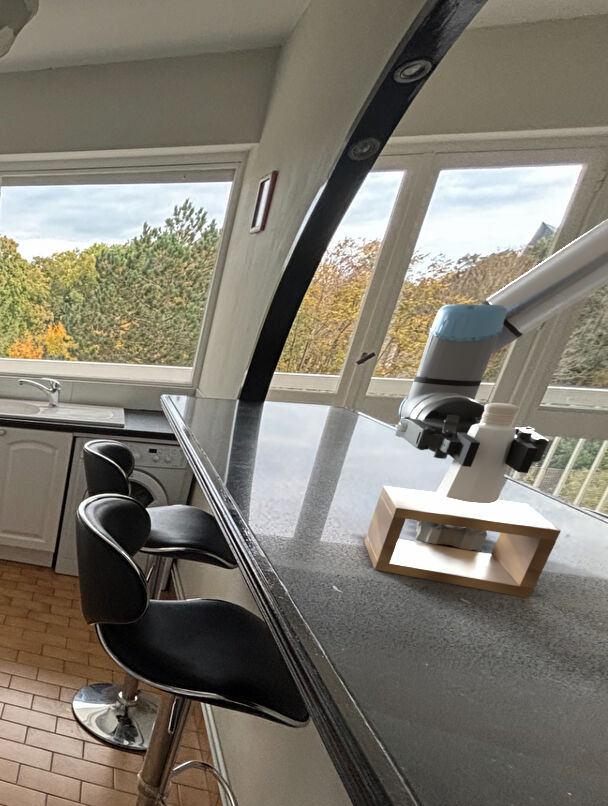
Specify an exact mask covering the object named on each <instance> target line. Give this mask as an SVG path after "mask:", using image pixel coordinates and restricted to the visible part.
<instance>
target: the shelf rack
mask: <svg viewBox="0 0 608 806" xmlns="http://www.w3.org/2000/svg"><path fill="white" fill-rule="evenodd" d="M380 491H381V492H380V495H379V497H378V499H377V503H376V506H375V509H374V512H373V515H372V519H371V521H370V523H369V527H368V530H367V533H366V535H365V538H364V545H365V548H366V550H367V554H368V555H369V558H370V561H371V564H372V567H373V569H374V570H375V571H378V572H384V573H389V574H395V575H399V576H400V575H401V576H407V577H411V578H417V579H422V580H428V581H432V582H433V581H434V582H440V583H443V584H450V585H455V586H460V587H466V588H471V589H472V588H473V589H478V590H483V591H488V592H494V593H500V594H504V595H510V596H516V597H521V598H526V599H530V598H531V596H532V594H533V591H534V589H535V587H536V585H537V583H538V581H539V579H540V576H541V574H542V573H543V570H544V568H545V566H546V564H547V561H548V560H549V557H550V555H551V553H552V552H553V549H554V547H555V544H556V542H557V540H558V538H559V536H560V533H561V531H562V530H561V529H559V528H558V527H557V526H555V525H554V524H553V523H551V522H550V521H549V520H548V519H547V518H545V517H544V516H543V515H541V514H540V513H539V512H538V511H537V510H535V509H534V508H533V507H531V506H530V505H529V504H528V503H523V502H515V501H507V500H500V499H498V500H497V501H496V502H493V503H490V504H483V503H470V502H464V501H460V500H455V499H451V498H446V497H444V496H443V495H441V494H439V493H437V491H428V490H422V489H421V490H420V489H414V488H412V489H411V488H404V487H395V486H388V485H382V489H381V490H380ZM406 520H411V521H417V520H418V521H424V522H431V523H438V524H445V525H452V526H459V527H466V528H472V529H479V530H486V532H493V533H499V536H498V538H497V539H496V543H495V545H494V548H493V549H492V552H491V553H487V552H481V551H476V550H466V549H462V548H457V547H449V546H448V547H447V546H443V545H438V544H436V545H435V544H432V543H426V542H418V541H411V540H405V539H400V537H401V534H402V530H403V527H404V525H405V522H406Z"/></svg>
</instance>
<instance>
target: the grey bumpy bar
mask: <svg viewBox="0 0 608 806" xmlns="http://www.w3.org/2000/svg"><path fill="white" fill-rule="evenodd" d="M415 526H416V529H415V531H416V536H415V539H416V540H418V541H422V542H423V543H425V544H431V545H445V546H446V545H447V546H452V547H453V548H457V549H462V550H468V551H477V552H481V550H482V547H483V545H484V543H485V540H486V538H487V536H488V533H487V531H486V530H479V529H472V528H466V527H459V526H452V525H445V524H438V523H431V522H424V521H418V520H416V525H415Z"/></svg>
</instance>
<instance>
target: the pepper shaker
mask: <svg viewBox="0 0 608 806" xmlns="http://www.w3.org/2000/svg"><path fill="white" fill-rule="evenodd" d="M484 406H485V407H484V412H483V414H482V415H483V416H482V419H481V420H480V421H481V422H480V423H479V424H474V425H472V426H471V428H470V430H469V431H468V433H467V434H468V435H469V436H471V437H472V438H473V439H475V440H476V441H478V442H479V443H480V445H479V448H478V450H477V453H476V455H475V458H474V460H473V463H472V465H471V467H467V466H461V465H460V464H459V463H458V462H457V461H456V460H454V459H453V460H452V462H451V464H450V465H449V467H448V469H447V471H446V473H445V474H444V477H443V479H442V481H441V482H440V484H439V486H438V488H437V490H436V492H437V493H439V494H441V495H443V496H444V497H446V498H451V499H455V500H460V501H464V502H470V503H483V504H490V503H493V502H496V501H497V500H499V497H500V493H501V490H502V485H503V482H504V478H505V474H506V470H507V468H508V467H507V466H508V465H507V464H505V463H506V460H507V457H508V454H509V451H510V448H511V445H512V442H513V439H514V437H515V432H516V429H515V428H516V427H511V425H512V424H513V421H514V419H515V417H516V414H517V413H518V411H519V410H520V406H518V405H516V404H511V403H503V402H489V403H486V404H485V405H484Z"/></svg>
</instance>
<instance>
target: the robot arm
mask: <svg viewBox="0 0 608 806" xmlns="http://www.w3.org/2000/svg"><path fill="white" fill-rule="evenodd" d="M606 285H608V218H606V219H605V220H602V222H600V223H599V224H597V225H595V226H594V227H593V228H592V229H590V230H588V231H587V232H586V233H584V234H583V235H581V236H579V237H578V238H576V239H575V240H573V241H571V243H569V244H567V245H566V246H565V247H562V249H560V250H558V251H557V252H555V253H554V254H552V255H551V256H549V257H548V258H546V259H545V260H544V261H542V262H541V263H538V265H536V266H535V267H533V268H531V269H530V270H529V271H527V272H525V273H524V274H523V275H521V276H519V277H518V278H517V279H515V280H514V281H512V282H510V283H509V284H507V285H506V286H505V287H503V288H502V289H500V290H499V291H497V292H496V293H494V294H492V295H491V296H490V297H488V298H486V300H484V301H482V302H481V303H479V304H445V305H443V306H442V307H440V309H438V311H437V312H436V316H435V318H434V320H433V323H432V324H431V326H430V328H429V334H428V337H427V341H426V343H425V347H424V349H423V354H422V356H421V358H420V363H419V366H418V369H417V372H416V375H415V376H414V379H413V382H412V384H411V387H410V390H409V393H408V395H407V396H406V397H405V398H403V400H402V402H401V403H400V406H399V408H398V417H399V423H398V425H397V428H396V431H395V434H394V435H395V436H396V437H398V438H402V439H404V440H405V441H407V443H409V444H410V445H412V446H413V447H414V448H415V449H418V450H420V451H426V450H427V451H428V450H429V451H431V452H433V453H434V454H433V456H432V457H433V458H435V459H441V460H445V459H447V458H448V456H450V457H451V458H452V459H453V460H456V461H457V462H458V463H459V464H460V465H461V466H467V467H471V465H472V463H473V460H474V458H475V455H476V453H477V450H478V448H479V445H480V443H479V442H478V441H476V440H475V439H473V438H472V437H471V436H469V435H468V434H467V433H468V431H469V430H470V428H471V426H472V425H474V424H479V423H480V422H481V421H480V420H481V419H482V416H483V415H482V414H483V412H484V407H485V405H484V404H482V403H481V402H479V401H477V400H475V399H476V396H477V394H478V392H479V389H480V385H481V383H482V379H483V377H484V374H485V373H486V369H487V367H488V365H489V362H490V360H491V357H492V355H493V354H495V353H496V352H498V351H500V350H501V349H503V348H504V347H506V346H508V345H510V344H511V343H513V342H514V341H516V340H517V339H519V338H520V337H522V336H523V335H525V334H527V333H529V332H530V331H532V330H534V329H535V328H537V327H538V326H540V325H542V324H543V323H545V322H547V321H549V320H550V319H551V318H553V317H555V316H557V315H558V314H560V313H562V312H563V311H565V310H566V309H568V308H570V307H571V306H573V305H574V304H576V303H578V302H579V301H581V300H583V299H584V298H587V297H588V296H590V295H591V294H593V293H595V292H596V291H598V290H600V289H601V288H603V287H605V286H606ZM514 428H515V429H516V432H515V437H514V439H513V442H512V445H511V448H510V451H509V454H508V457H507V460H506V463H505V464H507V466H509V467H510V468H512V469H513V470H514V471H516V472H517V473H522V474H528V473H529V472H530V469H531V466H532V464H533V463H538V462H541V461H542V459H543V457H544V454H545V452H546V450H547V447H548V446H549V443H550V439H548V438H546V437H544V436H542V435H541V434H539V433H538V432H536V428H533V427H532V426H525V427H514Z"/></svg>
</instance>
